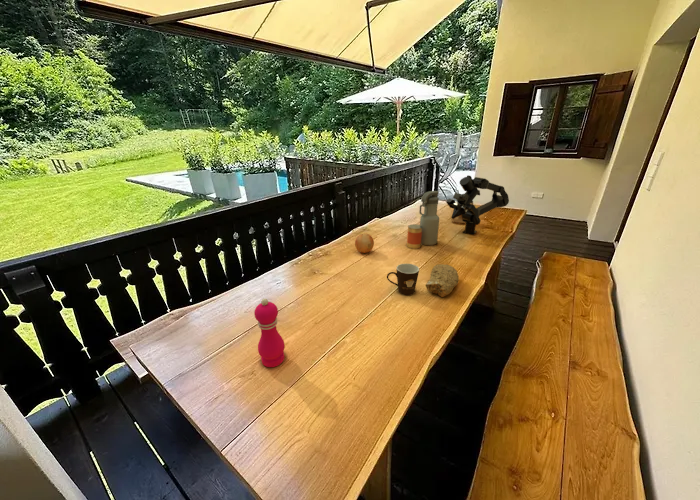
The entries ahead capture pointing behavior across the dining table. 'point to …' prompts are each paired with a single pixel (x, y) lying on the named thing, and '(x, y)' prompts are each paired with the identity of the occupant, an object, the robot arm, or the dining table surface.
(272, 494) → the dining table surface
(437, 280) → the rock
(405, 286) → the coffee mug
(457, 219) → the stone cup
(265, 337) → the pepper mill
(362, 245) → the onion
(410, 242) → the tin can
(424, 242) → the water bottle
